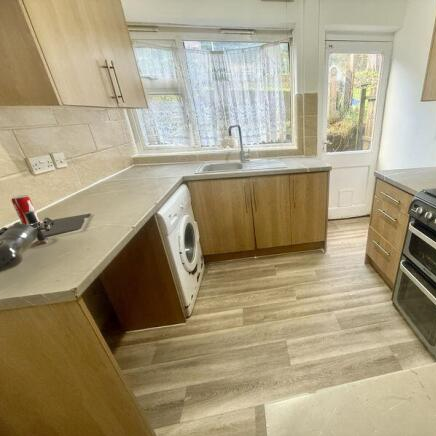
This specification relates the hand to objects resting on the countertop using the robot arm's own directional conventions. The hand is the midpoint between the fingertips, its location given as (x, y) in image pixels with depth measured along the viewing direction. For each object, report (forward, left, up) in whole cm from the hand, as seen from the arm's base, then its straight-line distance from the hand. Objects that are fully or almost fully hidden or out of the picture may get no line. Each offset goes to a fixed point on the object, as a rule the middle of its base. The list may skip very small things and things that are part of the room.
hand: (33, 222), depth 96 cm
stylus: (0, 0, -9) cm, 9 cm away
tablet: (+5, +16, -9) cm, 19 cm away
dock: (0, 0, -9) cm, 9 cm away
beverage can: (-9, +24, -9) cm, 27 cm away
